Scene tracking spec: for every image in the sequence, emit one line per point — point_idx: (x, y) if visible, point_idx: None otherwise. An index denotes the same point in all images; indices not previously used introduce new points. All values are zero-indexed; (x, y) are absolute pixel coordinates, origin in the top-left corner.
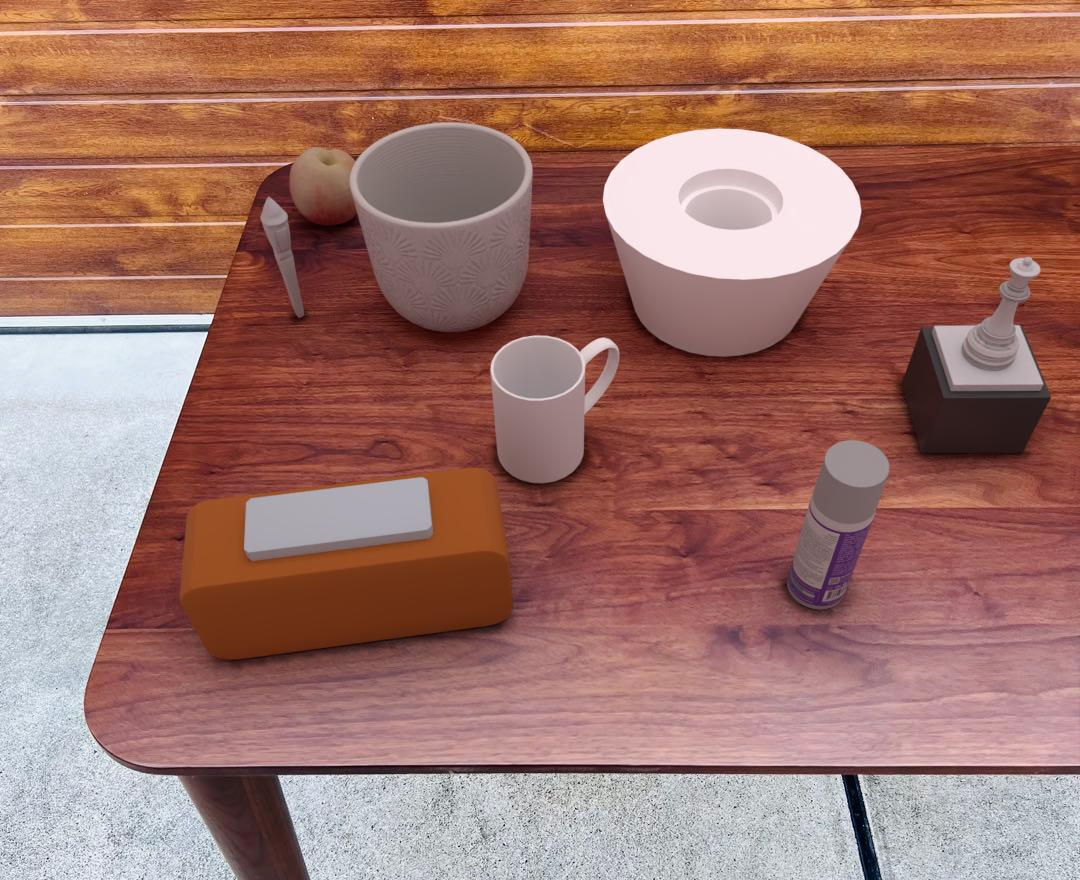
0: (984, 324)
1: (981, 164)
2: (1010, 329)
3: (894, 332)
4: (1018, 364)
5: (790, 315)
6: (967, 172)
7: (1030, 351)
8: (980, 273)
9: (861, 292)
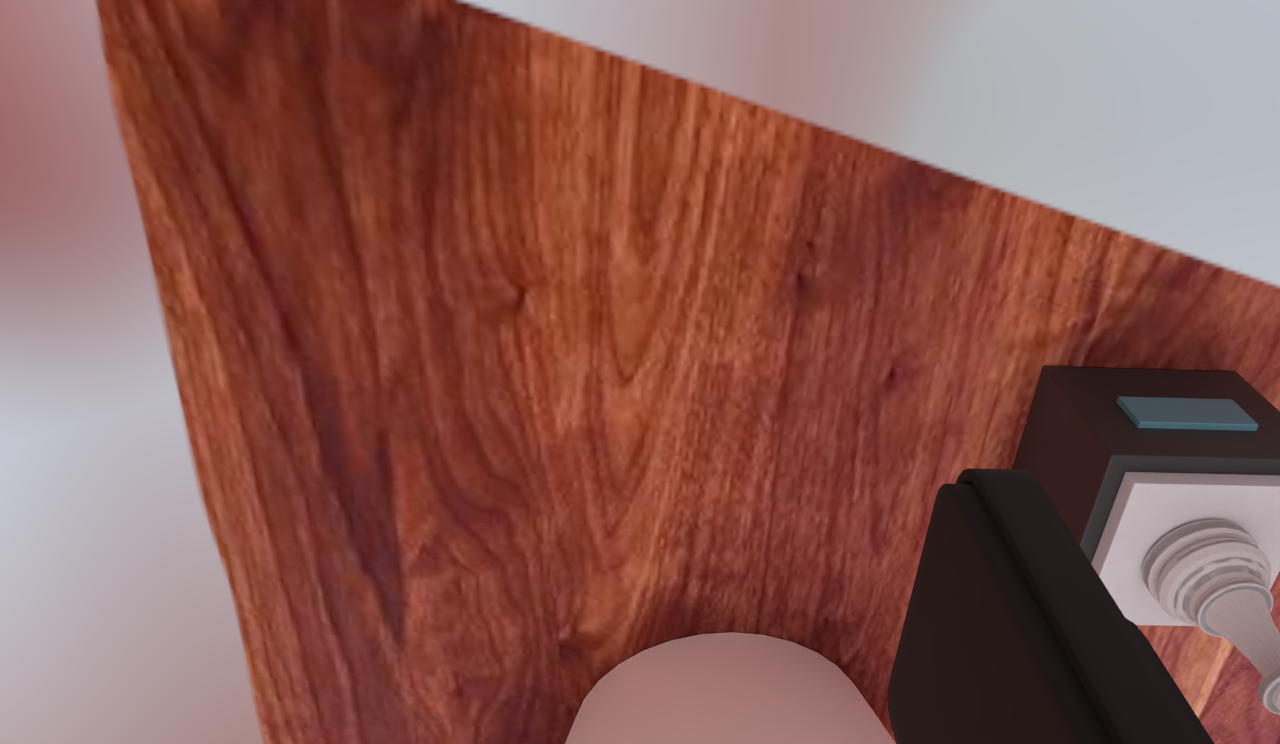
0: (1215, 631)
1: (187, 175)
2: (1267, 607)
3: (853, 504)
4: (1247, 514)
5: (891, 738)
6: (236, 224)
7: (1191, 460)
8: (682, 303)
9: (723, 536)
